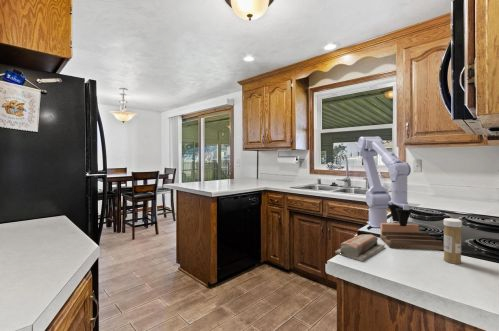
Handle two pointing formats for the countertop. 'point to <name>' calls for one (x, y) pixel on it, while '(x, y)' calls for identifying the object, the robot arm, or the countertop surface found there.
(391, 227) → the tile strip
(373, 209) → the robot arm
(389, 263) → the countertop surface
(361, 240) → the packaged product
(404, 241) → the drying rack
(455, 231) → the sprinkles bottle
